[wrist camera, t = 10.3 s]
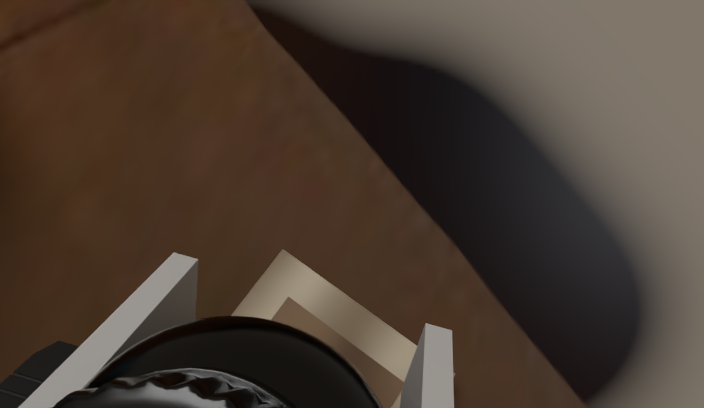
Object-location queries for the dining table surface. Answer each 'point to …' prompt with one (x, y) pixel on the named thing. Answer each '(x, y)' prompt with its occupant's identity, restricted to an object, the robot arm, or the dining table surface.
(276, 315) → the plate
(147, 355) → the supplement bottle
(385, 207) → the dining table surface
